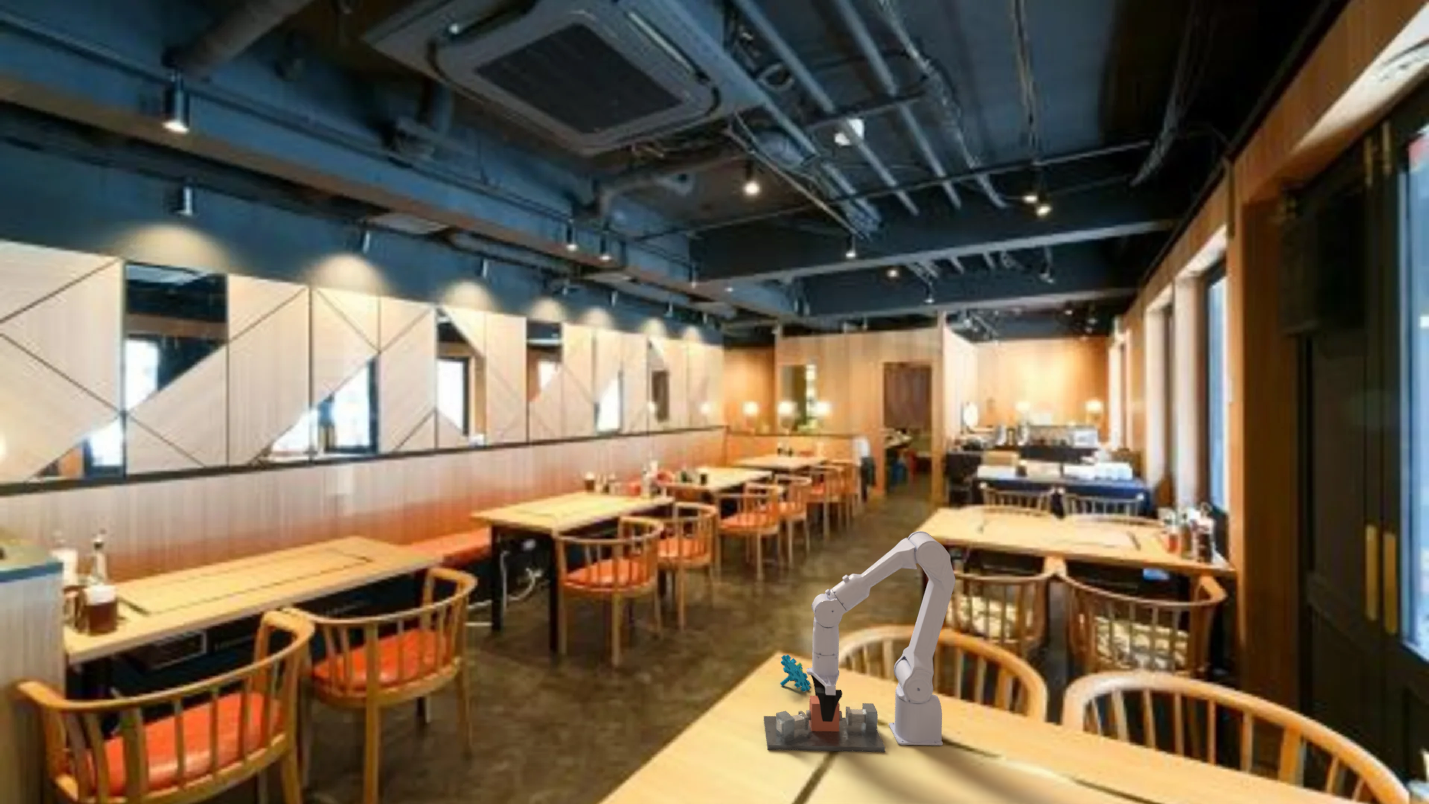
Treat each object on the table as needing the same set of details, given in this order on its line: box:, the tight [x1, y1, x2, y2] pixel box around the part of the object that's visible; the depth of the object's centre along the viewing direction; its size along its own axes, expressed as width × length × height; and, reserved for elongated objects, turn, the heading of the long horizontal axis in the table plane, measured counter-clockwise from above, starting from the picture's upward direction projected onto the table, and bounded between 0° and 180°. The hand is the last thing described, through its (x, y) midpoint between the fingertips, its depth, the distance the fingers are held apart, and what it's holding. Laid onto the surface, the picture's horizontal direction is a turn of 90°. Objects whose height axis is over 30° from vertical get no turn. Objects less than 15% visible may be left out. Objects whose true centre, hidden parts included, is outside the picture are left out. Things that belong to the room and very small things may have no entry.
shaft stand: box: [763, 702, 886, 753], centre depth 136 cm, size 24×12×6 cm, turn 90°
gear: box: [779, 654, 811, 693], centre depth 159 cm, size 11×6×10 cm
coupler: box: [805, 695, 843, 731], centre depth 138 cm, size 8×4×6 cm, turn 90°
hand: (824, 711), depth 138 cm, fingers open, 7 cm apart
